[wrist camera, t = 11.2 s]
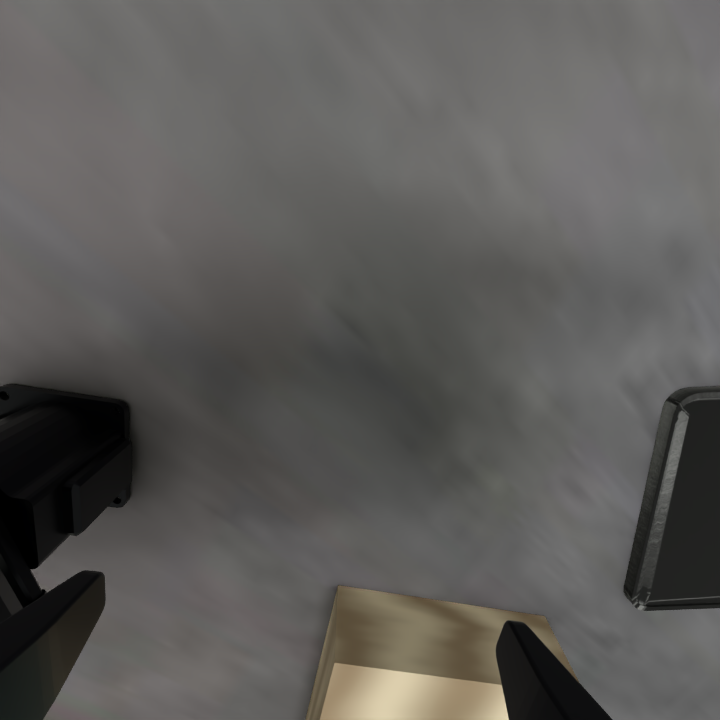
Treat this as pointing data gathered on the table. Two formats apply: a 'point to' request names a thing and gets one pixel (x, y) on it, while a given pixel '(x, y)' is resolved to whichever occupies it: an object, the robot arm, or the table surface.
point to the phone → (680, 509)
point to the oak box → (414, 659)
